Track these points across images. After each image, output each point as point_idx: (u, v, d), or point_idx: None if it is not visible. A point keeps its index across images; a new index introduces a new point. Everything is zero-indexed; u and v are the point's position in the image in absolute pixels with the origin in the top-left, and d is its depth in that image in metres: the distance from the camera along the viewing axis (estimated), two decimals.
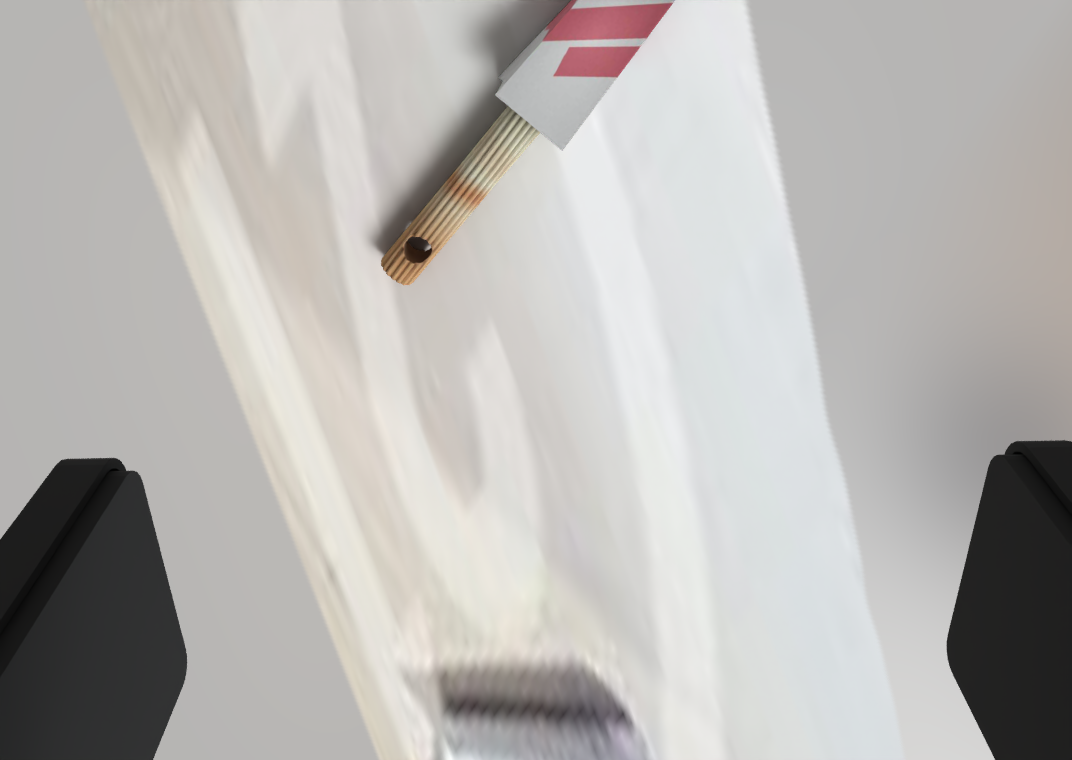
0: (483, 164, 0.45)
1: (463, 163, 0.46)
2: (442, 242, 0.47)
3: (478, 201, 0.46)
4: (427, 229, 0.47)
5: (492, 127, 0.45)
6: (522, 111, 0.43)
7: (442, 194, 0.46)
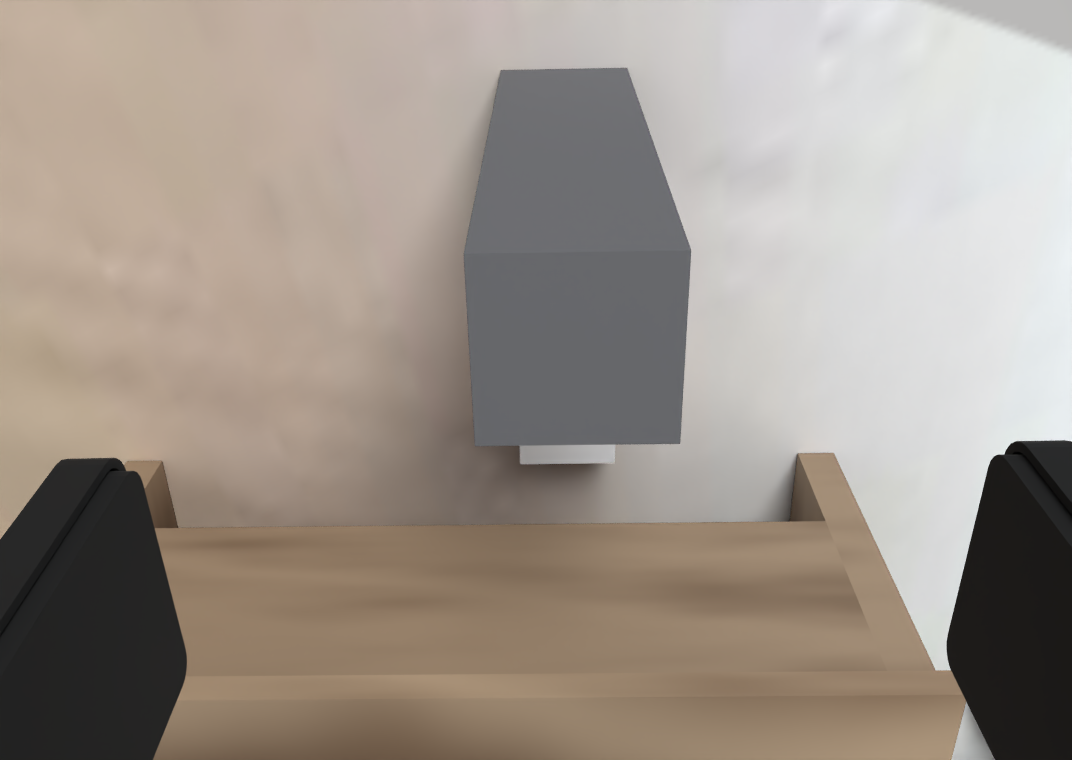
0: None
1: None
2: None
3: None
4: None
5: None
6: None
7: None
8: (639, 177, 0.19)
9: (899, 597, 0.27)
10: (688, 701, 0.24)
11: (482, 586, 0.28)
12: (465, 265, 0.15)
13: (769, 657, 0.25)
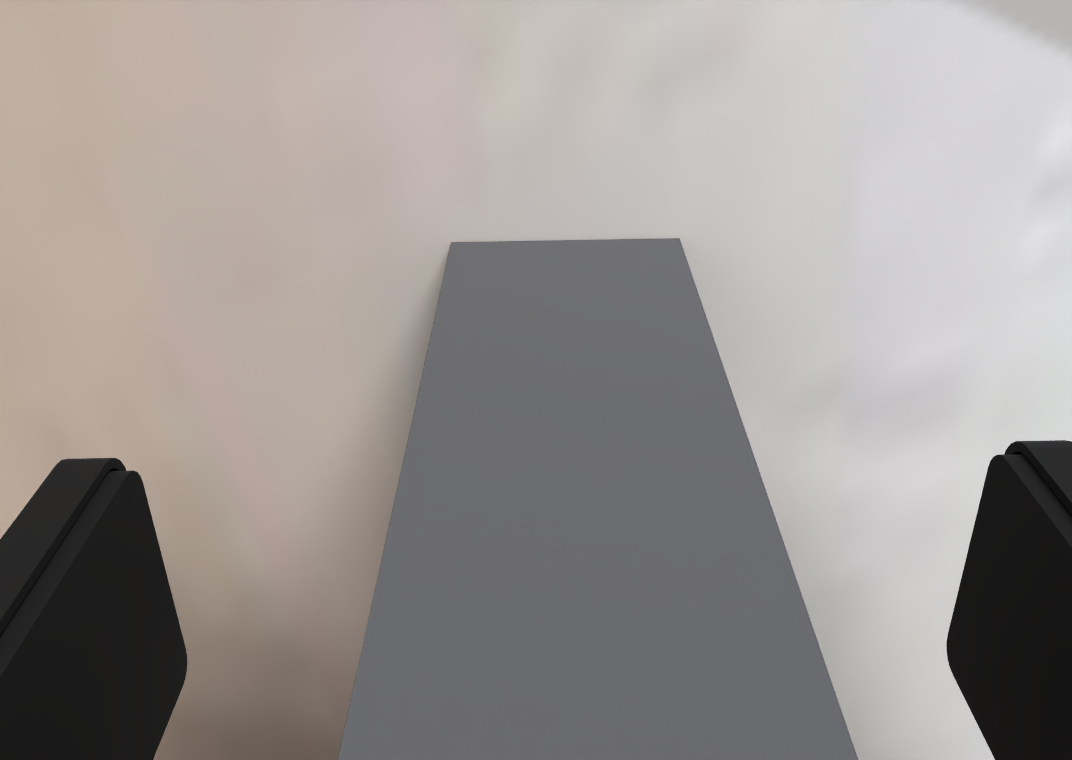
0: None
1: None
2: None
3: None
4: None
5: None
6: None
7: None
8: None
9: None
10: None
11: None
12: None
13: None
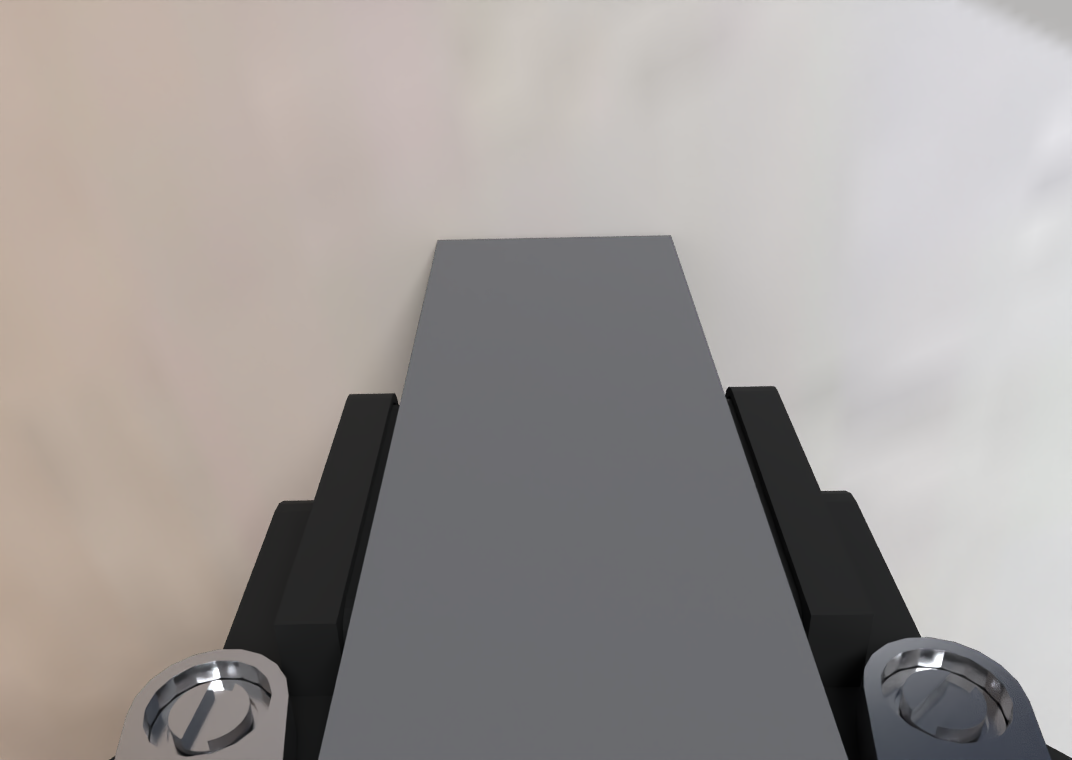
0: None
1: None
2: None
3: None
4: None
5: None
6: None
7: None
8: None
9: None
10: None
11: None
12: None
13: None
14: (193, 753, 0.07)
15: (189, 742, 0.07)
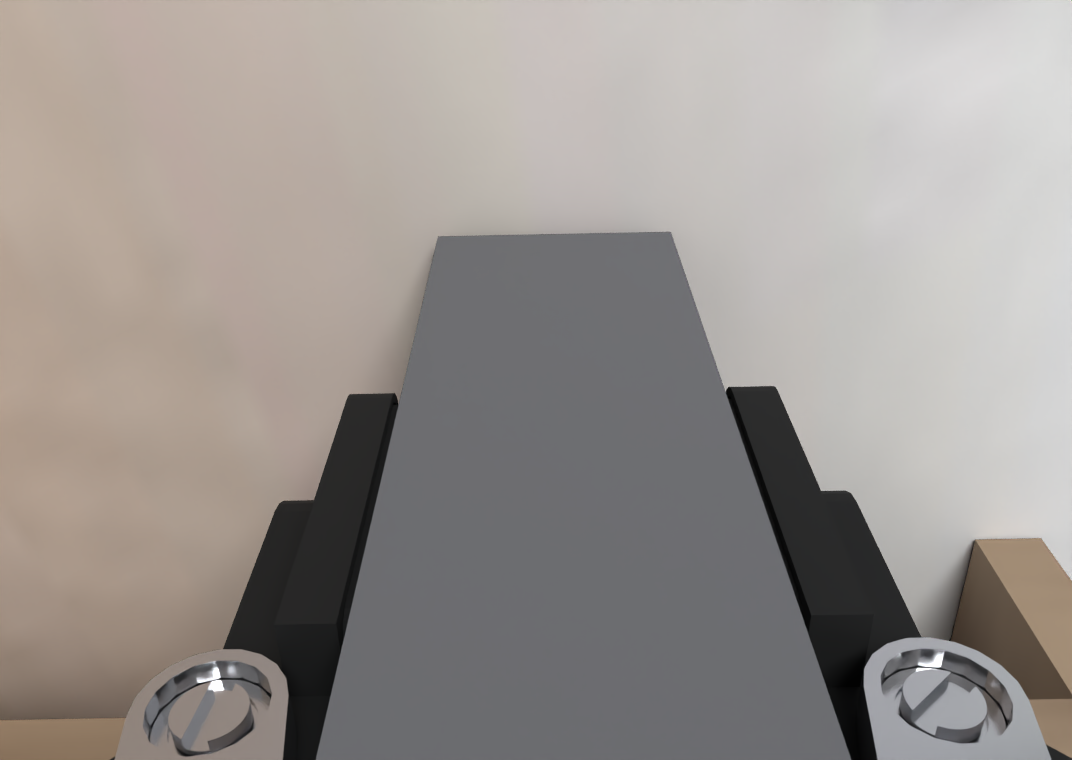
0: None
1: None
2: None
3: None
4: None
5: None
6: None
7: None
8: None
9: None
10: None
11: None
12: None
13: None
14: (193, 753, 0.07)
15: (189, 742, 0.07)
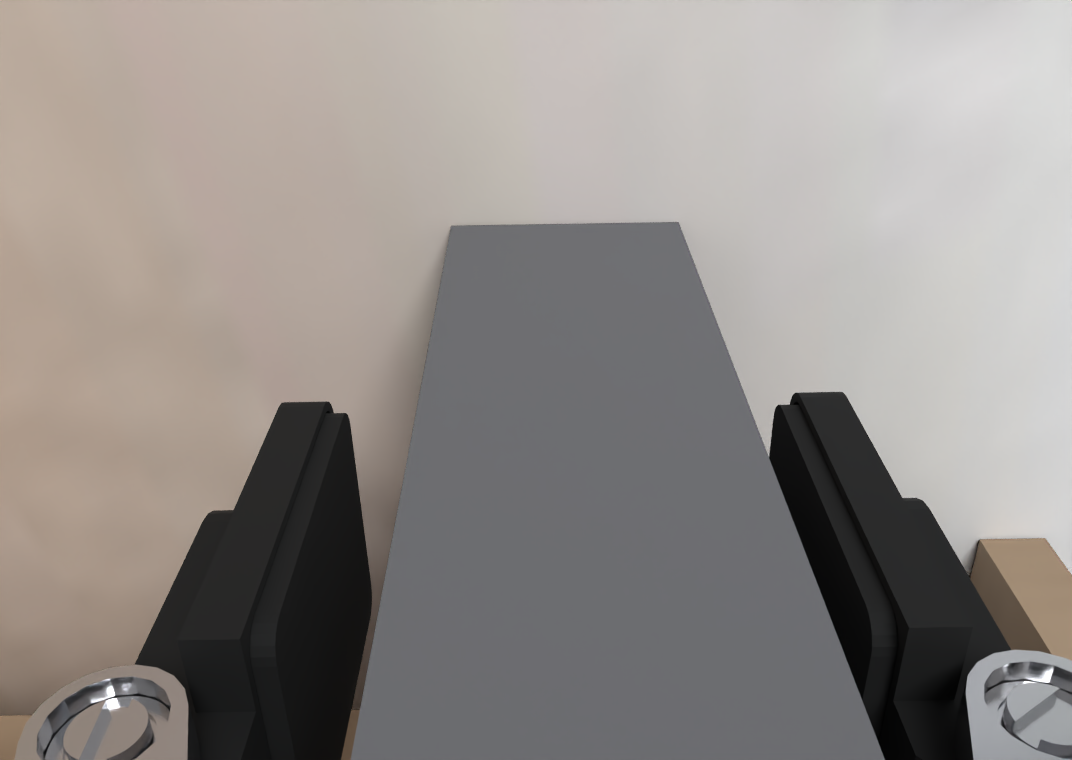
0: None
1: None
2: None
3: None
4: None
5: None
6: None
7: None
8: None
9: None
10: None
11: None
12: None
13: None
14: None
15: None
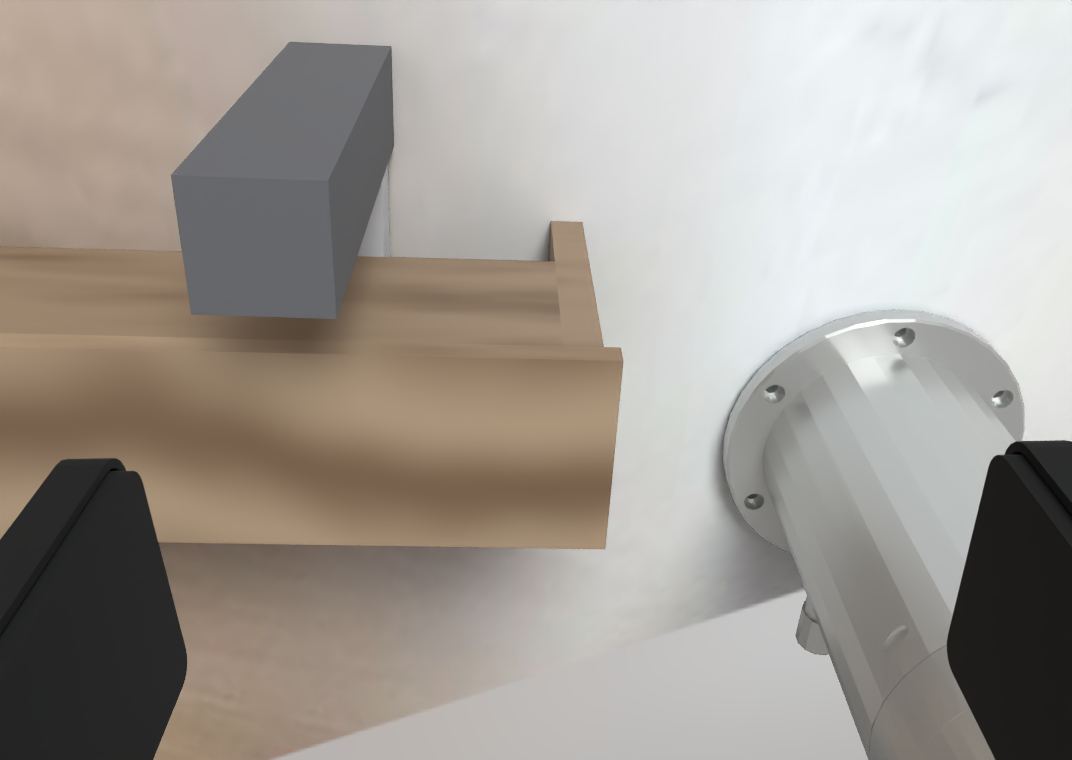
0: None
1: None
2: None
3: None
4: None
5: None
6: None
7: None
8: (332, 130, 0.26)
9: (595, 306, 0.32)
10: (389, 360, 0.29)
11: None
12: (172, 183, 0.22)
13: (468, 336, 0.30)
14: None
15: None
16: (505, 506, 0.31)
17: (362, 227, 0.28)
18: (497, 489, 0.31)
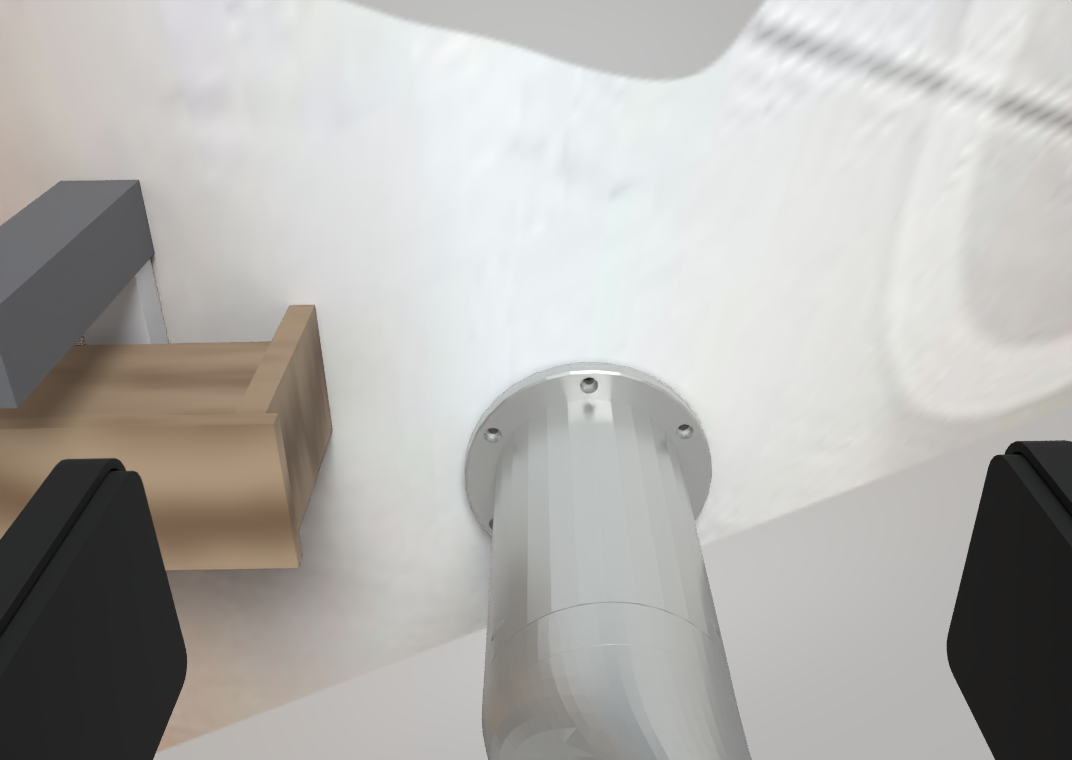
0: None
1: None
2: None
3: None
4: None
5: None
6: None
7: None
8: (26, 268, 0.35)
9: (279, 379, 0.41)
10: (99, 431, 0.38)
11: None
12: None
13: (166, 409, 0.39)
14: None
15: None
16: (212, 537, 0.40)
17: (74, 332, 0.38)
18: (203, 524, 0.40)
